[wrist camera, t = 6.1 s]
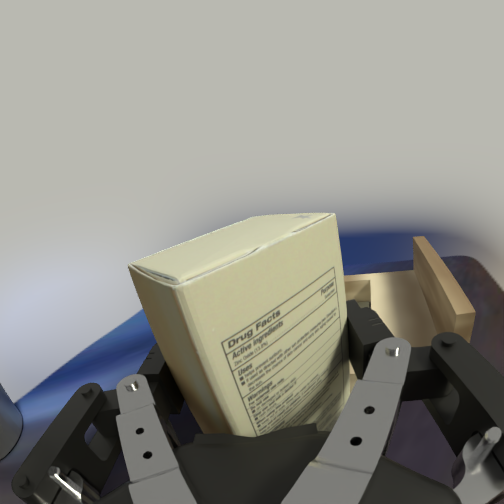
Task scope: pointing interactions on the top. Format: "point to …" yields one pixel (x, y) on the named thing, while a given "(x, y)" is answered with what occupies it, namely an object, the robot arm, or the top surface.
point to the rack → (415, 299)
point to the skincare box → (253, 323)
